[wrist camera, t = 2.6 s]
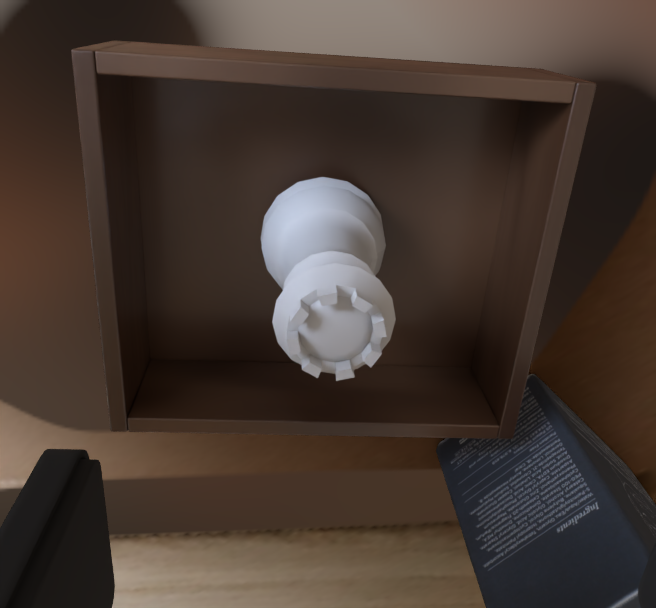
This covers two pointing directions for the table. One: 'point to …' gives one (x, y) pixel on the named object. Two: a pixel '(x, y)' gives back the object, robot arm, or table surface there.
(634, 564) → the box
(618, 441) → the table surface
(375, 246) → the rook chess piece
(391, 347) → the tray
